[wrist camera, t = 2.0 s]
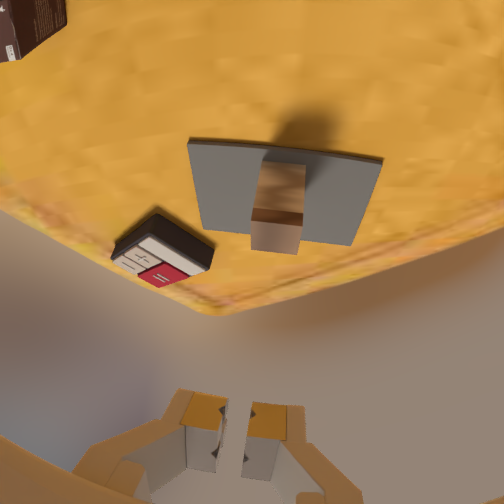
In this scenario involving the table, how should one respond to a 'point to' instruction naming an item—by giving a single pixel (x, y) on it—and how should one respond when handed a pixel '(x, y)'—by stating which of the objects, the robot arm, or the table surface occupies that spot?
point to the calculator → (162, 253)
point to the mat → (315, 198)
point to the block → (278, 208)
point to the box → (28, 25)
